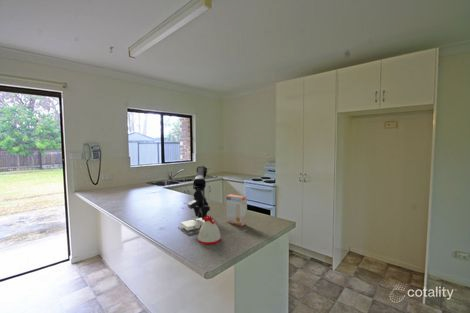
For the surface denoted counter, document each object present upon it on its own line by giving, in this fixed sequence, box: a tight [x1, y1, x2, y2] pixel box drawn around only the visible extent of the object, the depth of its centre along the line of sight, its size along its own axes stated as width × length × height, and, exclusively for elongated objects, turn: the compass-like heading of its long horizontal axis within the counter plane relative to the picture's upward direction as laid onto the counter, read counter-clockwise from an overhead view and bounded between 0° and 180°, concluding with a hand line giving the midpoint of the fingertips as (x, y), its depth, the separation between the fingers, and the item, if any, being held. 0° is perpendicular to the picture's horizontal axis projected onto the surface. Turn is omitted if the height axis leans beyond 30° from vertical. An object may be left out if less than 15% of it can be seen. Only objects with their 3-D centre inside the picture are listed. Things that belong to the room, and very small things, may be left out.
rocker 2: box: [194, 217, 215, 226], centre depth 155 cm, size 9×12×2 cm
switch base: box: [177, 225, 201, 236], centre depth 151 cm, size 22×16×1 cm
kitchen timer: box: [197, 215, 222, 246], centre depth 133 cm, size 14×14×15 cm
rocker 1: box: [180, 219, 200, 230], centre depth 148 cm, size 9×12×2 cm
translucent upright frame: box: [225, 193, 247, 227], centre depth 160 cm, size 14×6×21 cm, turn 52°
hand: (199, 218), depth 152 cm, fingers open, 9 cm apart
